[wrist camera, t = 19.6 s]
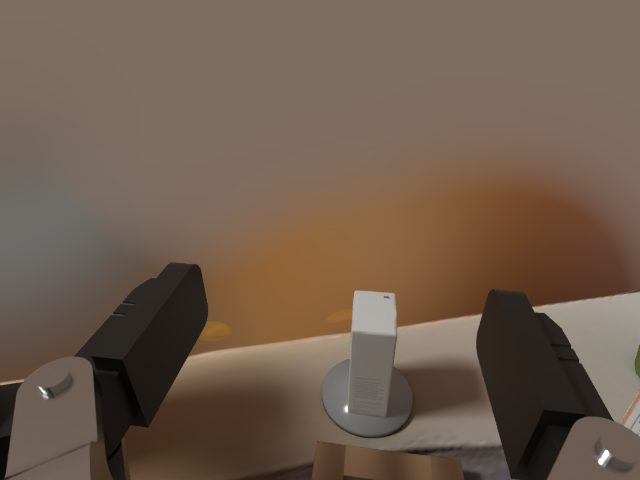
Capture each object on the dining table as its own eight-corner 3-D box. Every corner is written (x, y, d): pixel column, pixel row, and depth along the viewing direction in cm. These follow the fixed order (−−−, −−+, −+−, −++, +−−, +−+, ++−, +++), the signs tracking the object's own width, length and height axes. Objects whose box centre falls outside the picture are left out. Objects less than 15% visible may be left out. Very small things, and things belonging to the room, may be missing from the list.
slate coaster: (315, 431, 39) (315, 427, 39) (327, 356, 48) (327, 353, 48) (415, 444, 38) (416, 440, 38) (409, 365, 47) (410, 361, 46)
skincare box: (349, 368, 46) (354, 288, 39) (386, 372, 45) (396, 291, 39) (346, 414, 40) (350, 330, 34) (387, 419, 40) (399, 335, 34)
